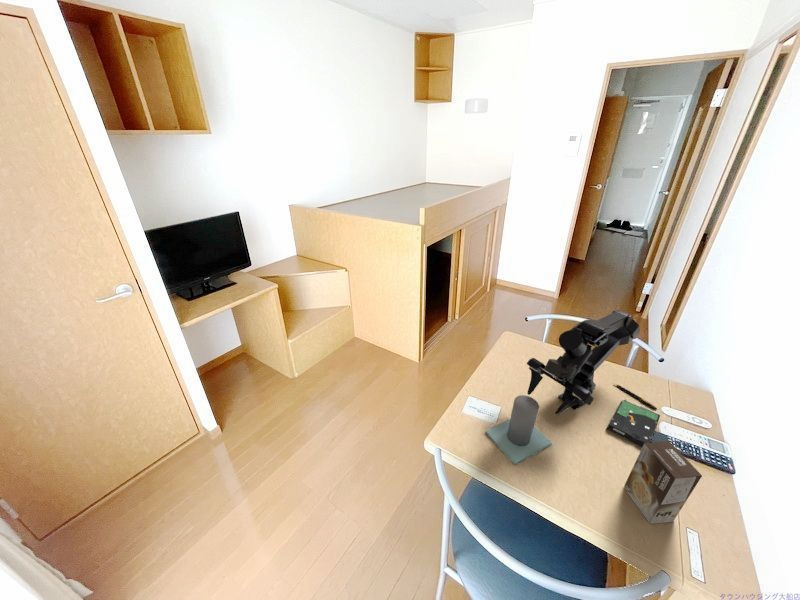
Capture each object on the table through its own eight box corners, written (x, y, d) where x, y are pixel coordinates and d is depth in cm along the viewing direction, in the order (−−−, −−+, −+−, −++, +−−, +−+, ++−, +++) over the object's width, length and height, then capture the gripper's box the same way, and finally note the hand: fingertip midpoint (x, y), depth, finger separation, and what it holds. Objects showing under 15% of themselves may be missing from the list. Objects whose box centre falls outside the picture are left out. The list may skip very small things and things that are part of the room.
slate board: (520, 415, 103) (520, 413, 102) (551, 444, 93) (552, 442, 93) (485, 432, 97) (485, 430, 97) (514, 465, 88) (515, 463, 87)
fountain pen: (611, 384, 115) (612, 381, 114) (613, 383, 115) (614, 380, 115) (655, 411, 104) (657, 408, 103) (657, 410, 104) (659, 406, 104)
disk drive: (646, 451, 92) (657, 420, 101) (650, 444, 90) (660, 414, 100) (605, 430, 98) (619, 403, 107) (608, 424, 97) (622, 397, 106)
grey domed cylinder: (525, 427, 98) (533, 395, 91) (533, 446, 92) (542, 412, 86) (504, 427, 98) (511, 395, 91) (510, 446, 92) (518, 413, 86)
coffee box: (675, 521, 75) (705, 477, 67) (649, 524, 74) (676, 480, 67) (645, 483, 83) (669, 439, 75) (621, 485, 82) (643, 442, 75)
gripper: (536, 335, 97) (505, 378, 96) (599, 369, 83) (563, 419, 82) (547, 348, 104) (519, 387, 104) (607, 381, 90) (574, 427, 90)
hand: (541, 403), depth 95 cm, fingers open, 9 cm apart
